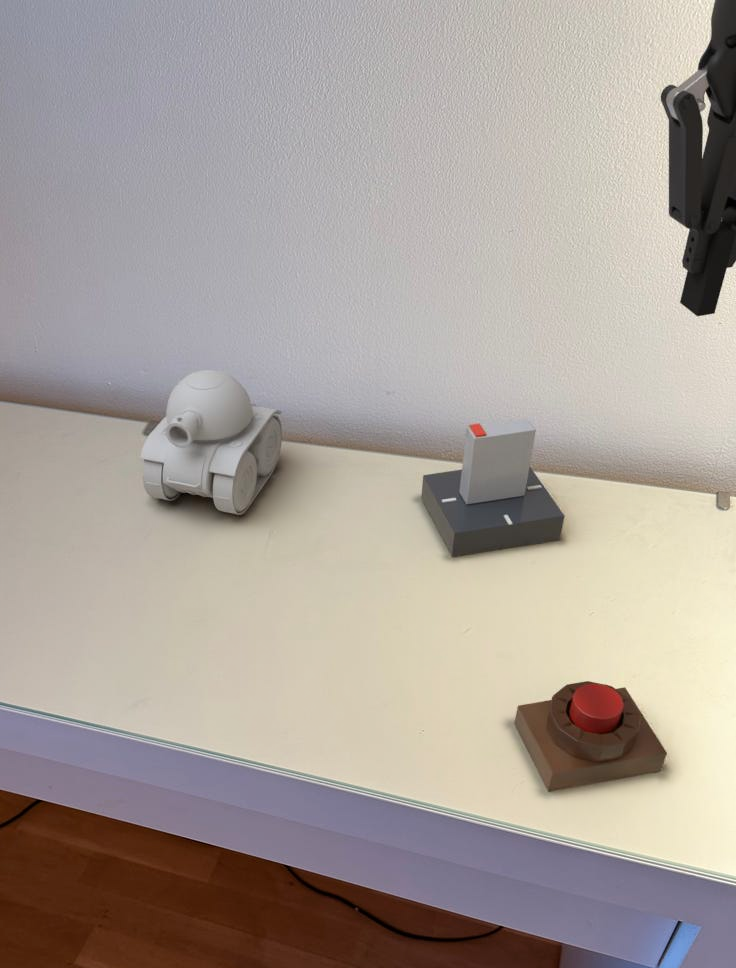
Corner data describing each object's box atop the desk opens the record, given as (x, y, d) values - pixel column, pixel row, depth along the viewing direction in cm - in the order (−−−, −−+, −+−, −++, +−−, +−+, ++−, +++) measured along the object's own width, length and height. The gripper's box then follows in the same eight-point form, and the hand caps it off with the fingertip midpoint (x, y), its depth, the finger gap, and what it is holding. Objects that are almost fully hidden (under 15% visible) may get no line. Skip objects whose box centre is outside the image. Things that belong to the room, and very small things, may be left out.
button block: (619, 705, 78) (630, 670, 75) (660, 771, 73) (673, 737, 70) (513, 723, 77) (520, 689, 75) (547, 791, 72) (556, 758, 70)
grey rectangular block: (516, 483, 96) (527, 415, 91) (524, 496, 95) (536, 427, 89) (459, 492, 96) (466, 424, 90) (466, 505, 94) (474, 436, 89)
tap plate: (521, 483, 101) (525, 457, 99) (560, 541, 94) (565, 514, 92) (420, 498, 100) (422, 473, 98) (452, 558, 93) (455, 531, 91)
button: (606, 695, 74) (610, 679, 73) (627, 729, 72) (632, 714, 70) (561, 703, 74) (565, 687, 73) (581, 737, 71) (585, 722, 70)
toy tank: (233, 533, 98) (223, 421, 89) (141, 514, 101) (122, 404, 92) (286, 456, 107) (282, 348, 98) (201, 440, 111) (189, 335, 102)
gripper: (725, -21, 59) (644, 341, 75) (919, -46, 60) (798, 314, 76) (663, -40, 64) (600, 301, 80) (841, -63, 65) (744, 277, 82)
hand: (697, 307), depth 78 cm, fingers closed
